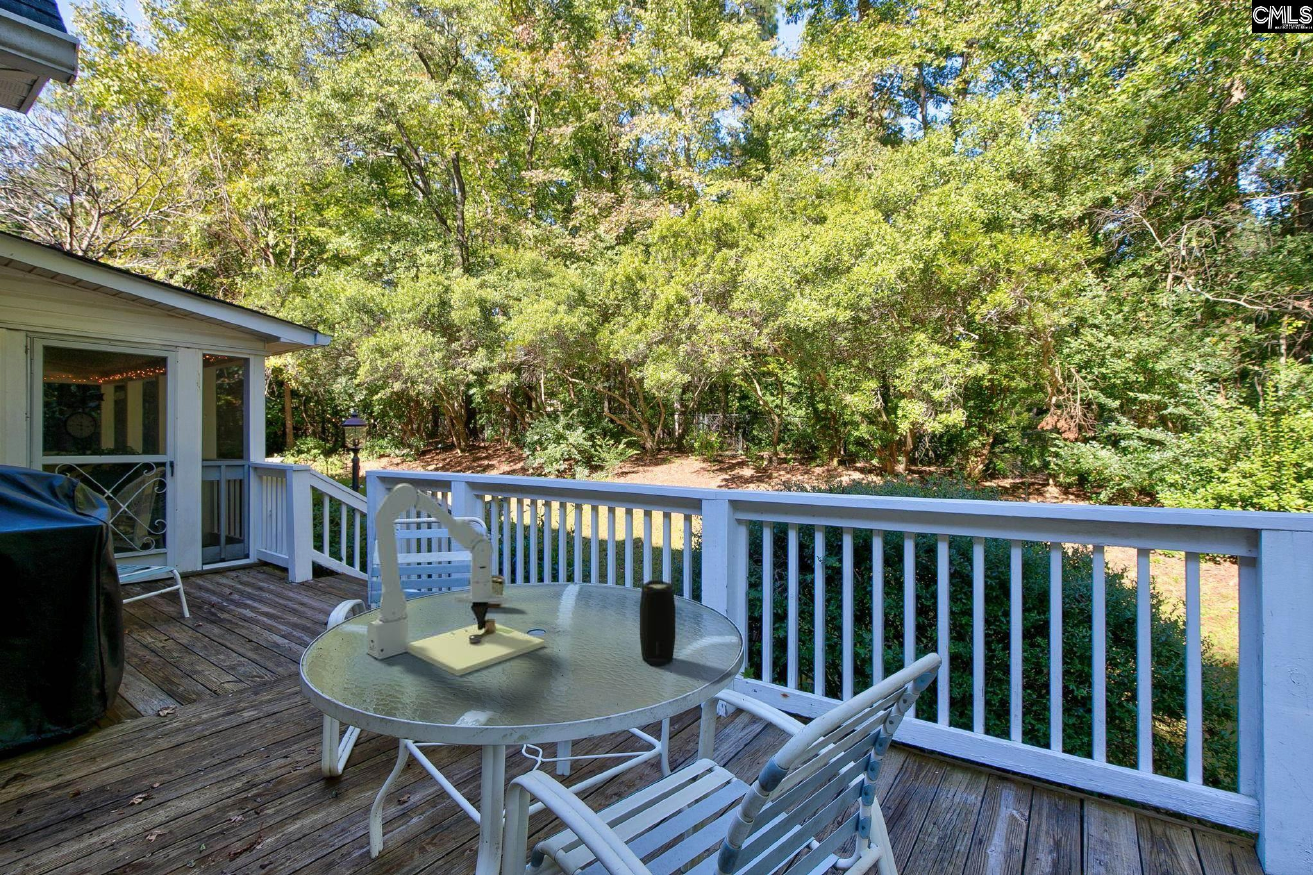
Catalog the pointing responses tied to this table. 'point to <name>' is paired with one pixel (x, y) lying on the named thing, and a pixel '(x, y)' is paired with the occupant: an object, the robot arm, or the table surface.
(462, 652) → the dial board
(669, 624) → the portable speaker
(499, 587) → the food container
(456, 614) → the table surface
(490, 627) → the dial needle
